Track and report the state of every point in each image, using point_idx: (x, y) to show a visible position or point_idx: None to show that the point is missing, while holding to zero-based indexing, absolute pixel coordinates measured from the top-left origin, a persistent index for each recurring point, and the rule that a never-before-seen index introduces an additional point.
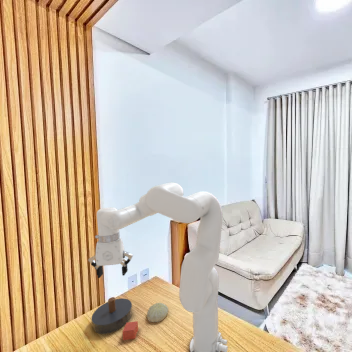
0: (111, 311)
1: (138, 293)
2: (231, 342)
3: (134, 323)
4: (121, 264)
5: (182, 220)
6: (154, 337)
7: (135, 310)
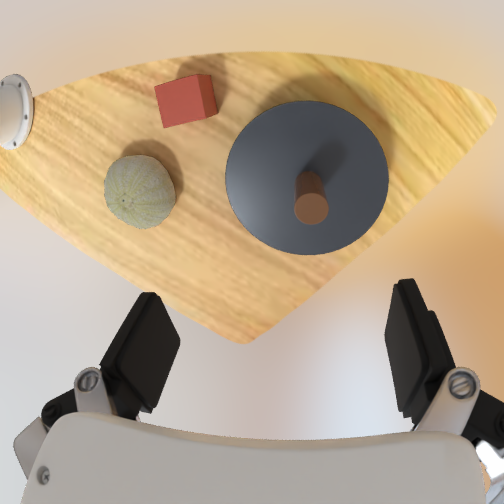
0: (305, 173)
1: (275, 296)
2: None
3: (169, 115)
4: (106, 400)
5: None
6: (116, 103)
7: None
